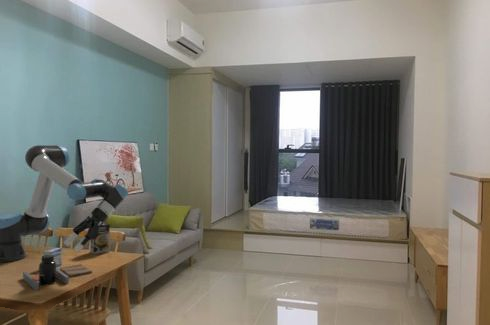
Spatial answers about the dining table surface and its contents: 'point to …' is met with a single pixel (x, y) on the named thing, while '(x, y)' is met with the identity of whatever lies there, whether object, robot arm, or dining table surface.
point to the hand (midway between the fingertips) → (70, 247)
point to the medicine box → (55, 255)
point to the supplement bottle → (47, 270)
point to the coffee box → (101, 240)
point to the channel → (35, 284)
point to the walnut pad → (75, 270)
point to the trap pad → (36, 277)
